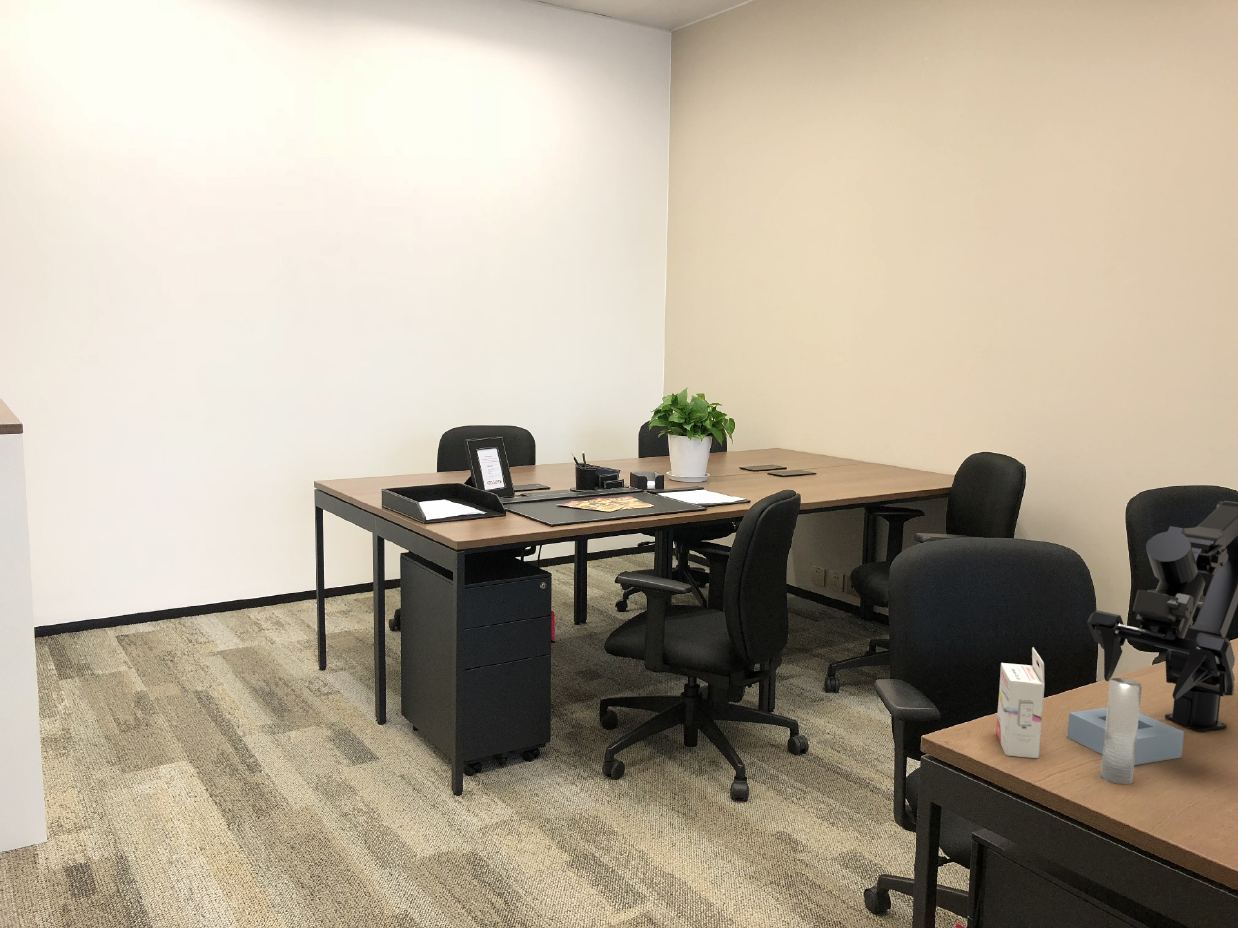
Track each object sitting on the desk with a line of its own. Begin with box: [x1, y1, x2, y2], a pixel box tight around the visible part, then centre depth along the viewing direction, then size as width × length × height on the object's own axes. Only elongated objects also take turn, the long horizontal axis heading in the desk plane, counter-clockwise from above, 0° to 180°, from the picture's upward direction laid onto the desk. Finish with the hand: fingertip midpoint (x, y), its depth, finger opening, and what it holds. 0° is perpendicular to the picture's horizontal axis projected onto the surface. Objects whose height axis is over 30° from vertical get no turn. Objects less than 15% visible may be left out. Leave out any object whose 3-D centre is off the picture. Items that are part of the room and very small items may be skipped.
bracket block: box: [1066, 707, 1185, 766], centre depth 146 cm, size 11×11×4 cm
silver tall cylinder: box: [1100, 677, 1143, 785], centre depth 135 cm, size 4×4×14 cm
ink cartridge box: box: [995, 646, 1045, 759], centre depth 145 cm, size 9×5×15 cm, turn 168°
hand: (1139, 688), depth 138 cm, fingers open, 9 cm apart
